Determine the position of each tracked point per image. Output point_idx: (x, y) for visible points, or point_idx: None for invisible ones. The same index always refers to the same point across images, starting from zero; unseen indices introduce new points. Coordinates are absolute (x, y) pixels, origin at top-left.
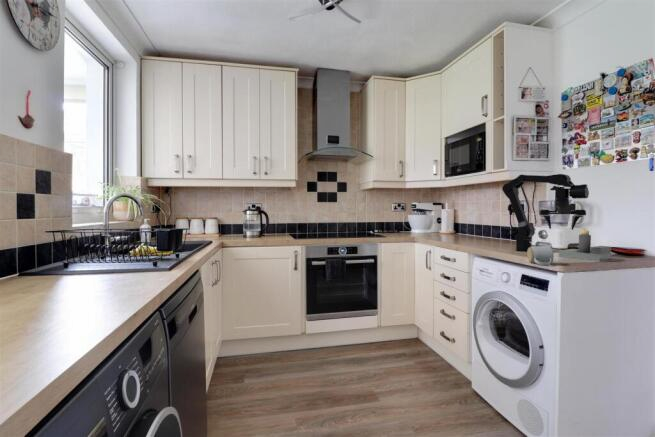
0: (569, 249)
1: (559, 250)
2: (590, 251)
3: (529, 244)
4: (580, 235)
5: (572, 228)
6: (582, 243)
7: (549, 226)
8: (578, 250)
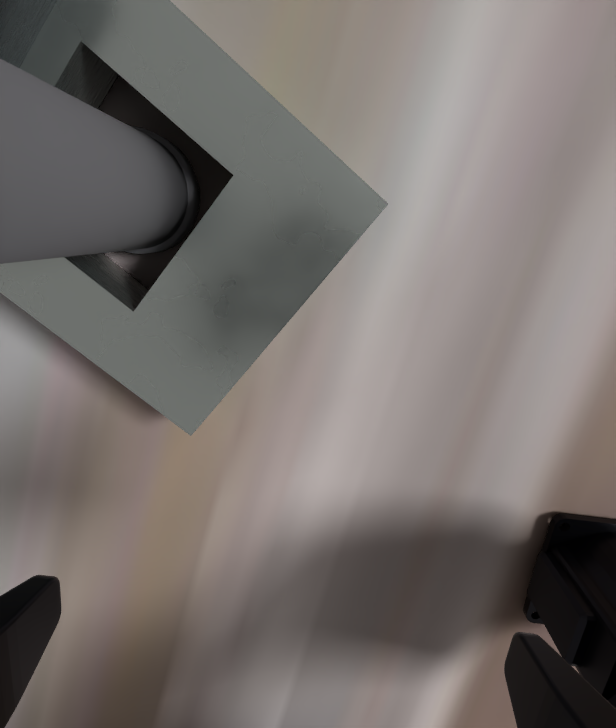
0: (227, 369)
1: (384, 205)
2: None
3: (586, 597)
4: (17, 98)
5: (34, 591)
6: (84, 105)
7: (594, 688)
8: (151, 296)
